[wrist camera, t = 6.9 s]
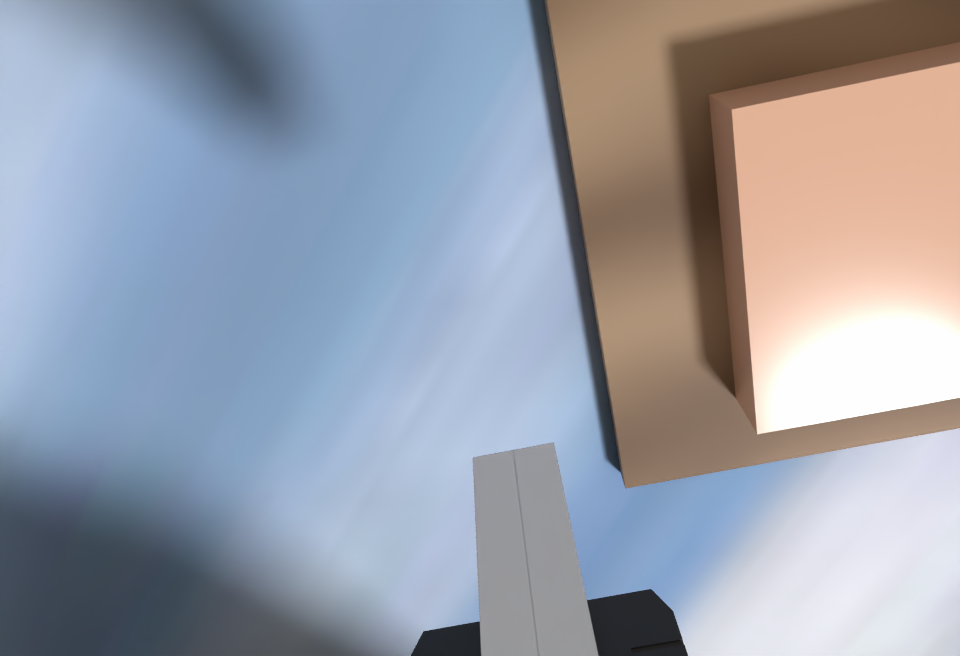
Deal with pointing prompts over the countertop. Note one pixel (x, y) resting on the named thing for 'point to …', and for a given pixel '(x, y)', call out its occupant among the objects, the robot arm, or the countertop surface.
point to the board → (697, 207)
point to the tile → (842, 238)
